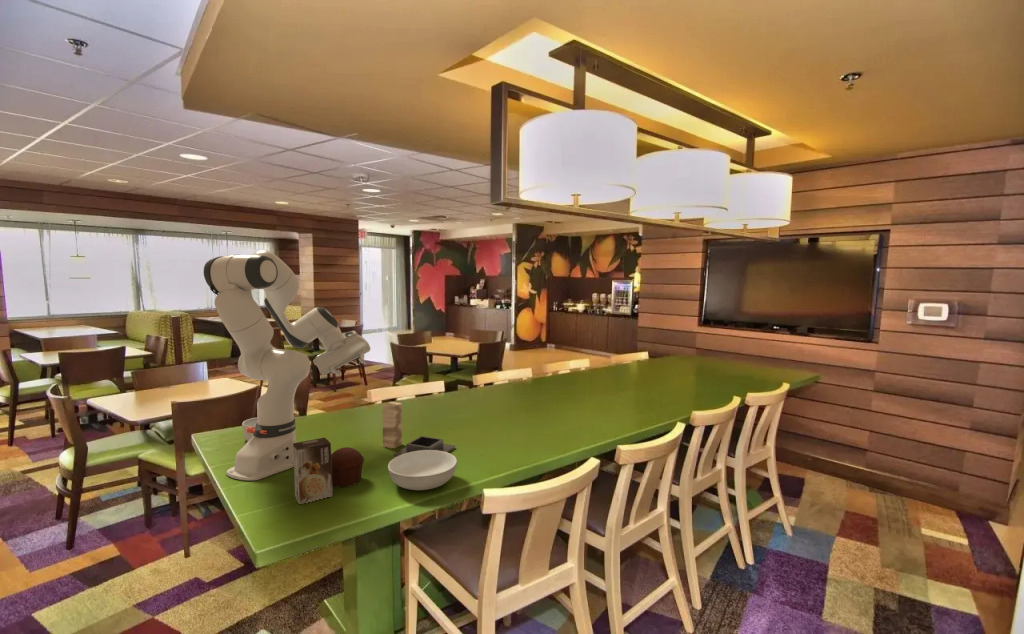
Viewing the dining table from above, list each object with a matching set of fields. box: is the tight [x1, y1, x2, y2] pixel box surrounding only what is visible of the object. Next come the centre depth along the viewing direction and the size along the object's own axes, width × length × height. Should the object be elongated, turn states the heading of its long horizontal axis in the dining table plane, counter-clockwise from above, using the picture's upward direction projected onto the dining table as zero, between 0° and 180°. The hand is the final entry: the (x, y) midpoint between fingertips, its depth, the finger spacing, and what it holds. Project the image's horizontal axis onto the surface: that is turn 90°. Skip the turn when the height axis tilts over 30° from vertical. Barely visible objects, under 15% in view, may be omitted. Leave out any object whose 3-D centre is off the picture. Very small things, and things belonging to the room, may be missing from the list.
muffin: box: [331, 446, 365, 488], centre depth 143 cm, size 12×11×10 cm
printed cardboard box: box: [293, 437, 334, 505], centre depth 132 cm, size 9×6×16 cm
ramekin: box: [241, 417, 258, 442], centre depth 181 cm, size 13×13×7 cm
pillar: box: [381, 401, 403, 449], centre depth 173 cm, size 5×5×16 cm
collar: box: [393, 435, 456, 458], centre depth 168 cm, size 16×16×4 cm
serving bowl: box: [387, 450, 458, 491], centre depth 142 cm, size 21×21×7 cm
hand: (351, 368), depth 172 cm, fingers open, 8 cm apart
